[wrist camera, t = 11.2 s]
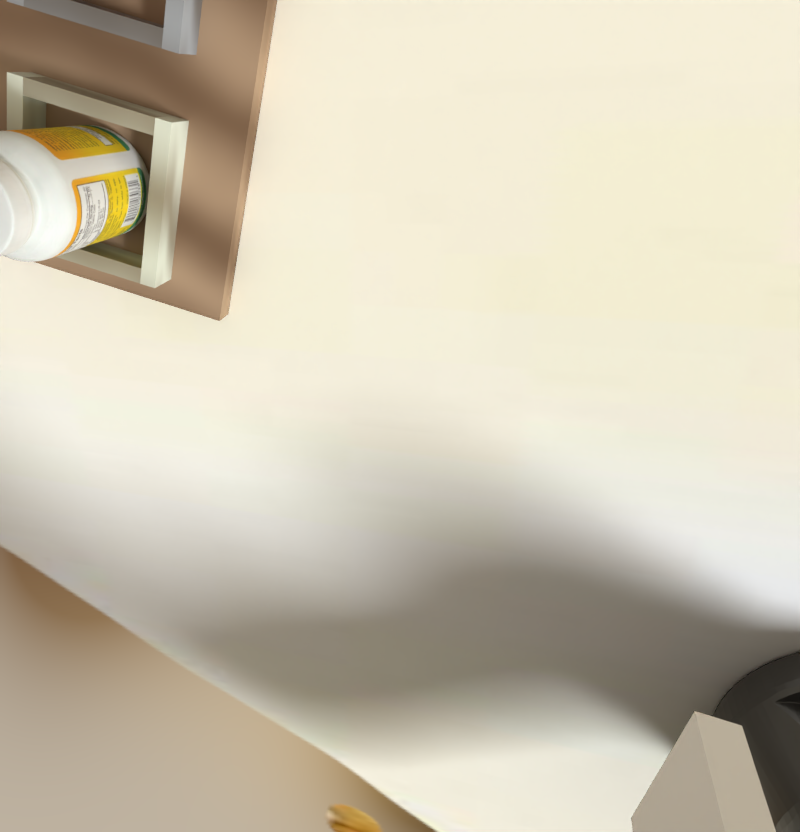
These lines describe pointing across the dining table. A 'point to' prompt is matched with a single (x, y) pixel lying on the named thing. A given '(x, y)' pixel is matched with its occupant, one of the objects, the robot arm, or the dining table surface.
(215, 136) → the socket board
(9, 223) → the supplement bottle
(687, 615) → the dining table surface
